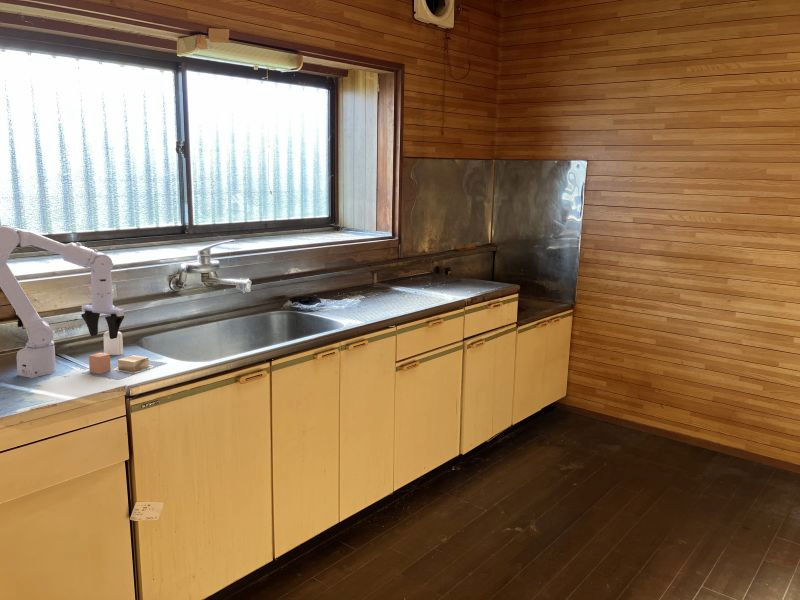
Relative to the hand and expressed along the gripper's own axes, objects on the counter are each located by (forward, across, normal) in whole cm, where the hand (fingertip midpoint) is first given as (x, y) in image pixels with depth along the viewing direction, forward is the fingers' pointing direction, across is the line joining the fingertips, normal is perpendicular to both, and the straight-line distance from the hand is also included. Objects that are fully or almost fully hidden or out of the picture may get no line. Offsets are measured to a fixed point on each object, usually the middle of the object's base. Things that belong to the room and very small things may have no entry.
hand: (103, 336), depth 194 cm
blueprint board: (+10, -8, 0) cm, 13 cm away
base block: (+9, -10, -1) cm, 13 cm away
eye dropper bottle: (+10, +8, -11) cm, 17 cm away
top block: (+9, -4, +6) cm, 11 cm away
